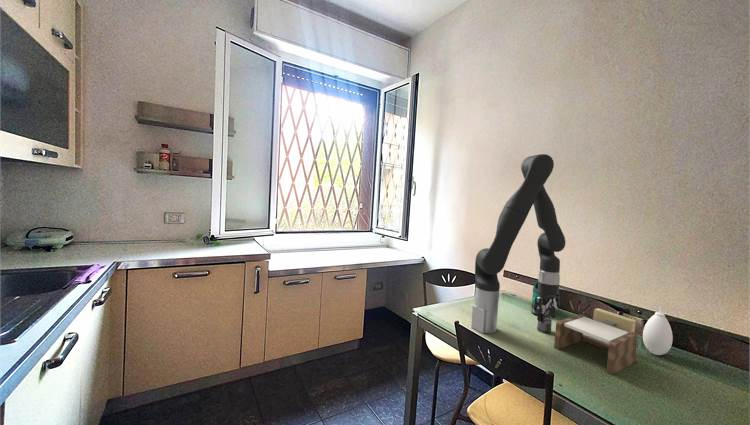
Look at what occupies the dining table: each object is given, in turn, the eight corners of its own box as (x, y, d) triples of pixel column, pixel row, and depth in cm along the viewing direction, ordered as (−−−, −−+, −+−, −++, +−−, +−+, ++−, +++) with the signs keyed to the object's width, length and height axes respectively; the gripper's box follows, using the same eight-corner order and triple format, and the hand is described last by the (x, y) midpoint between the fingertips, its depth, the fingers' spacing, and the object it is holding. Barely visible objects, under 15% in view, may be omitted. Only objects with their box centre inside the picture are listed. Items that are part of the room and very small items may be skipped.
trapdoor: (609, 351, 95) (611, 333, 94) (562, 332, 107) (564, 316, 107) (638, 337, 106) (640, 321, 105) (593, 321, 118) (594, 307, 118)
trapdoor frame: (611, 375, 93) (614, 344, 92) (554, 347, 109) (556, 321, 108) (637, 360, 102) (640, 332, 102) (580, 337, 118) (583, 313, 117)
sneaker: (554, 305, 153) (556, 277, 152) (547, 319, 135) (550, 287, 134) (534, 300, 159) (536, 273, 158) (525, 313, 140) (527, 282, 139)
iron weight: (546, 334, 119) (547, 322, 119) (534, 329, 123) (535, 317, 123) (553, 332, 121) (554, 320, 121) (541, 327, 126) (542, 315, 125)
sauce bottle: (671, 354, 107) (676, 307, 106) (669, 362, 102) (675, 312, 101) (642, 345, 113) (647, 300, 112) (639, 352, 108) (644, 305, 107)
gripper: (549, 276, 128) (547, 313, 129) (529, 281, 121) (527, 319, 122) (567, 281, 121) (565, 319, 122) (547, 286, 114) (545, 326, 115)
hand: (546, 319), depth 122 cm, fingers open, 8 cm apart
